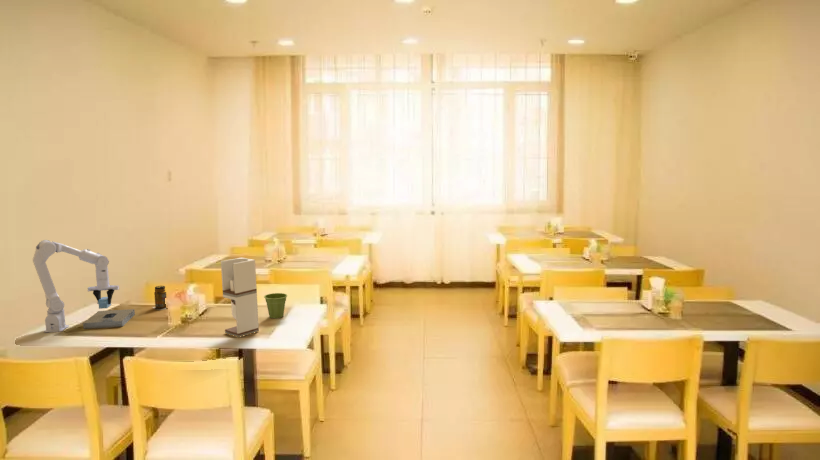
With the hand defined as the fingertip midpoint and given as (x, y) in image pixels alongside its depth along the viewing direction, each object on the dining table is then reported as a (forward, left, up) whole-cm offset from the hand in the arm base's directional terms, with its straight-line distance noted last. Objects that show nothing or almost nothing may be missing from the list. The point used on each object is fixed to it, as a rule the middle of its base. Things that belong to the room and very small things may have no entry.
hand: (104, 304), depth 309 cm
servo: (0, 0, -2) cm, 2 cm away
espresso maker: (-38, -72, -9) cm, 82 cm away
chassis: (-4, -3, -8) cm, 10 cm away
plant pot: (-14, -87, -9) cm, 89 cm away
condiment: (+18, -23, -9) cm, 31 cm away
